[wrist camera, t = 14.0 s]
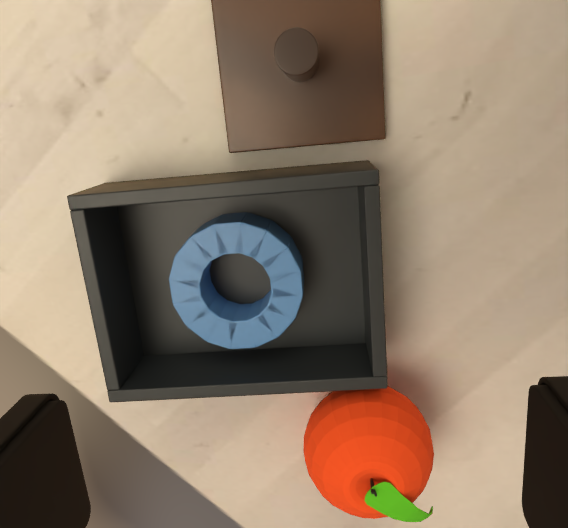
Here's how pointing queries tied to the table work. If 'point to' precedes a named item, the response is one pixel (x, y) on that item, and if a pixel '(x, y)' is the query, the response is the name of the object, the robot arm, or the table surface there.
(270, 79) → the peg stand
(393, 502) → the clementine
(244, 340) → the tape roll
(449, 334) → the table surface
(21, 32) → the table surface
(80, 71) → the table surface
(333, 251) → the bin
